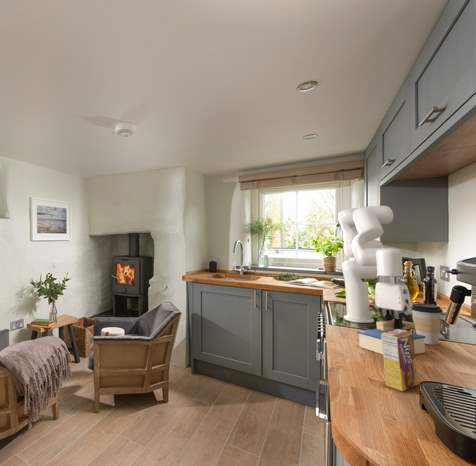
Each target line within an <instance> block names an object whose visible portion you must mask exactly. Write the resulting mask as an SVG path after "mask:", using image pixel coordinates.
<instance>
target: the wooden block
mask: <svg viewBox="0 0 476 466" xmlns="http://www.w3.org/2000/svg"><path fill="white" fill-rule="evenodd" d="M375 324H376V329H378V330H383V331H386V330H393V329H395V328H394V319H393V320H389V321H385V320H379V321H376V323H375ZM402 325H403V326H402V330H409V329H415V323H414V322H411V321H406V320H402Z"/></svg>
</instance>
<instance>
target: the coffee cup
mask: <svg viewBox="0 0 476 466" xmlns="http://www.w3.org/2000/svg"><path fill="white" fill-rule="evenodd" d="M411 306H412V309H411V310H412V312H413V314H412V320H413V323H415V328H414V330H415V332H416V333H415V334H418V335H423V336H426V338H424V344H425V345H432V346H436V345H439V344H440V333H441V326H442V325H441V324H442V323H441V322H442V318H441V316H442V315H441V314H442V313H444V311H443V309H442V308H441V307H440V305H438V304H437V305H436V304H431V303H411Z"/></svg>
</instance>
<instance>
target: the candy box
mask: <svg viewBox="0 0 476 466" xmlns="http://www.w3.org/2000/svg"><path fill="white" fill-rule="evenodd" d="M413 333H414V332H413V331H409V330H405V329H396V330H392V331H389V332H385V333H382V334H381V338H382V349H383V354H382V360H383V369H384V379H385V387H389V388H392V389H395V390H397V391H399V392H405V391H408V390H409V389H411V388H413V387H416V386H418V385H419V378H418V370H417V361H416V354H415V350H414V341H413Z"/></svg>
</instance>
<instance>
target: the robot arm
mask: <svg viewBox="0 0 476 466" xmlns="http://www.w3.org/2000/svg"><path fill="white" fill-rule="evenodd" d="M393 220H394V211H393V210H392V208H391V207H389V206H388V205H374V206H373V205H371V206H361V207H351V208H345V209H342V210H341V211H339V213H338V221H339V224H340V226H341V228H342V231H343V238H344V239H343V242H344V246H343V247H344V253H345V256H346V257H348V258H351V259H352V260H346V261H344V262H343V263H342V265H341V271H342V274H343V275H342V276H343V280H344V289H345V290H344V292H345V304H346V305H345V306H346V315H343V320H345V321H348V322H352V323H359V324H372V323H374V322H375V319H374V318H372V317H374V316H375V317H376V315H377V314H376V312H375V311H370V298H369V287H368V285H367V284H366V283H365V282H364V281H363V279H365V280H367V279H369V280H370V279H371V280H375V279H376V280H377V282H376V284H375V287H374V302H375V304H374V305H373V308H374V309H376V310H377V311H379V312H380V313H381V316H382V317H383V318H384V320H383V321H389V320H394V328H395V329H399V330H403V328H402V326H403V325H402V321H403V319H404V318H405V317H406V316H409V315H413V312H412V310H411V309H412V299H411V294H410V291H409V287H408V285H407V284H405V283H407V282H408V279H407V278H405V276H404V268H403V256H402V250H400V249H399V248H393V247H384V245H383V243H382V242H381V241H380V240H378V239H379V238H381V236H382V235H383V234H384V228H383V227H382V225H383V224H384V225H386V224H387V225H388V224H390V223H391V222H393ZM353 259H354V260H353ZM392 311H393V312H394V318H393V315H392V314H391V312H392Z"/></svg>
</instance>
